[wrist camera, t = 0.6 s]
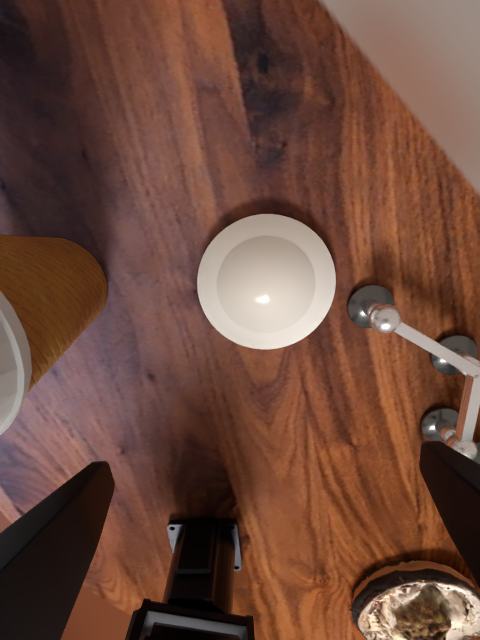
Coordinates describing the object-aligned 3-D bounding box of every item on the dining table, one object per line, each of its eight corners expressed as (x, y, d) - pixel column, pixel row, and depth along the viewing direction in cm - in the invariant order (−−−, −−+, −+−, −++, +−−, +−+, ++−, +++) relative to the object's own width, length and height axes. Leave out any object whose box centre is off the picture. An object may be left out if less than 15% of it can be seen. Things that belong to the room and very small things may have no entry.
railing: (456, 437, 25) (488, 473, 21) (341, 441, 25) (355, 477, 22) (488, 276, 20) (534, 289, 17) (347, 285, 21) (365, 300, 17)
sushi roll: (322, 557, 31) (332, 608, 27) (482, 532, 29) (518, 584, 25) (347, 643, 35) (359, 697, 31) (486, 627, 33) (517, 682, 29)
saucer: (331, 340, 22) (334, 346, 21) (207, 348, 23) (205, 353, 22) (334, 207, 19) (338, 208, 18) (190, 219, 20) (188, 220, 19)
